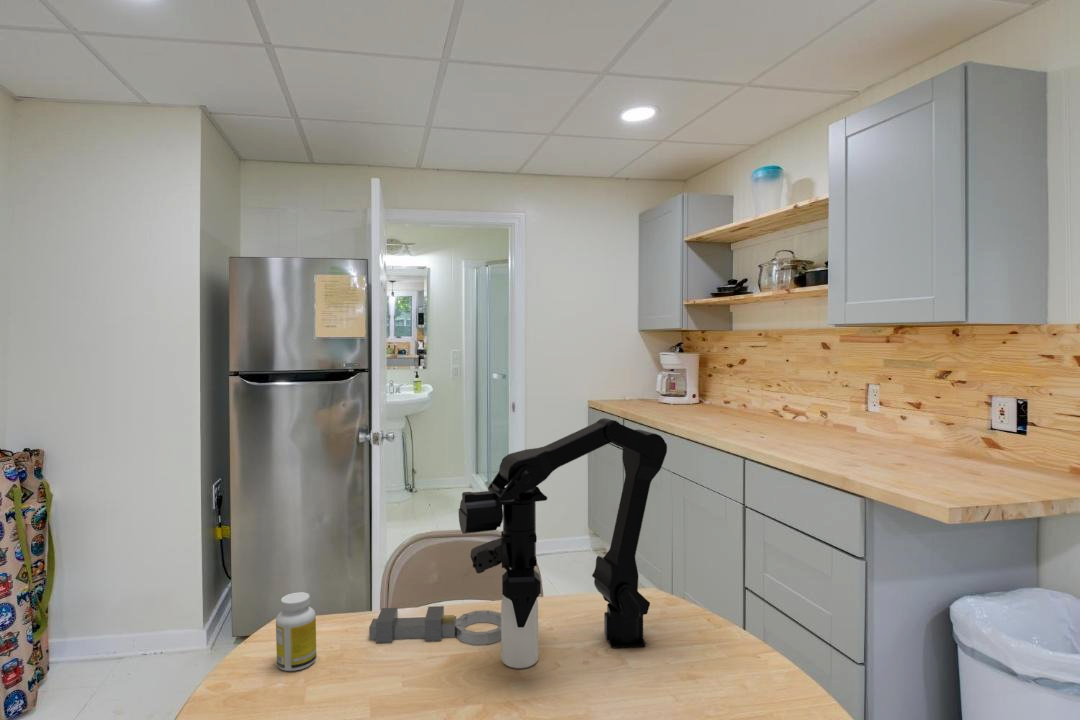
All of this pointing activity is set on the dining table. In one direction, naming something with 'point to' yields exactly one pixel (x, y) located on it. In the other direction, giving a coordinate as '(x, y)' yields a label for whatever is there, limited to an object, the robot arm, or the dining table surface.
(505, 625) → the can
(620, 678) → the dining table surface
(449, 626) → the shaft seat
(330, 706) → the dining table surface
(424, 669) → the dining table surface
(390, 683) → the dining table surface
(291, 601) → the pill bottle
